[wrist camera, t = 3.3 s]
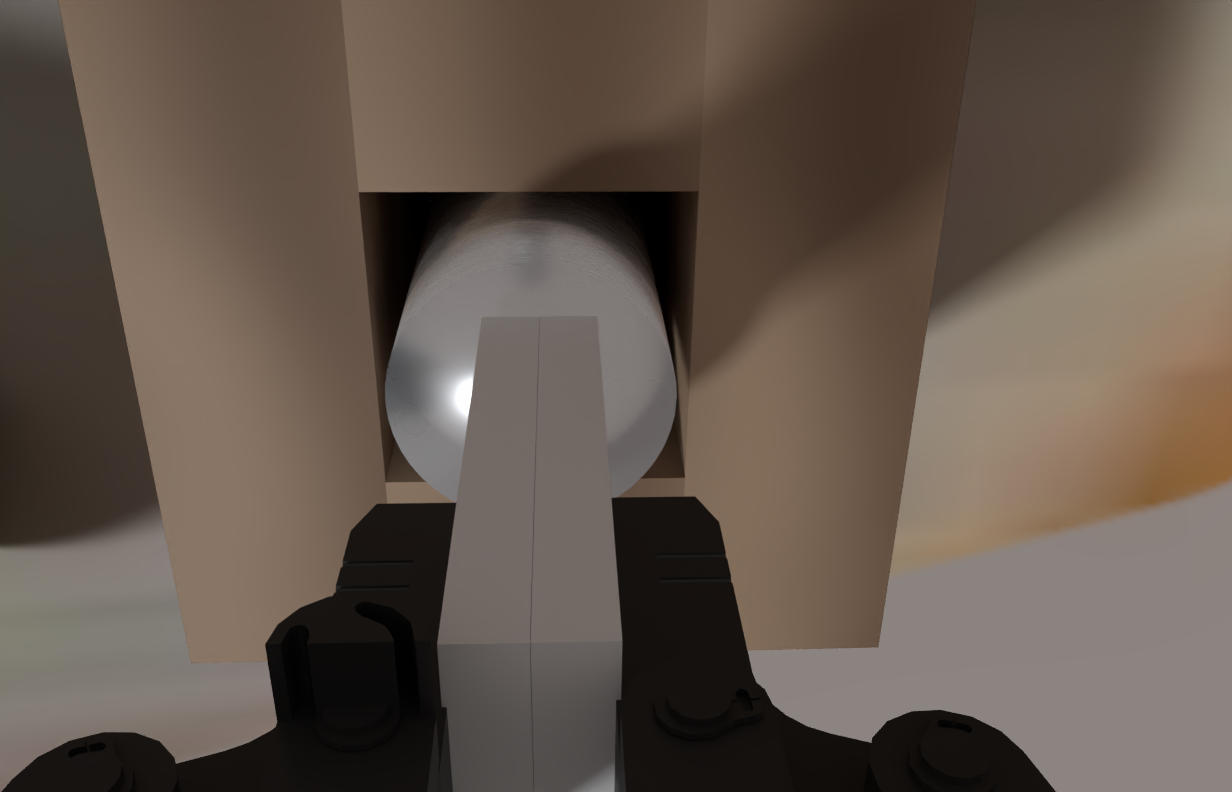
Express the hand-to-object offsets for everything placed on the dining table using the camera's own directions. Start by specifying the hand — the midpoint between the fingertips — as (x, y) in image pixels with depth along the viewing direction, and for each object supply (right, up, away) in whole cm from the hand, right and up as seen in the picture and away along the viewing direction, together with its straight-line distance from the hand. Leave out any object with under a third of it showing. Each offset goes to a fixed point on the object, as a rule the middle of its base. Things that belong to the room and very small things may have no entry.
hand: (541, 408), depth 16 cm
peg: (-1, +4, +8) cm, 9 cm away
